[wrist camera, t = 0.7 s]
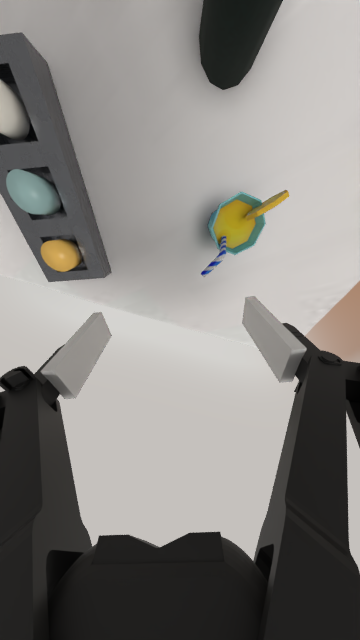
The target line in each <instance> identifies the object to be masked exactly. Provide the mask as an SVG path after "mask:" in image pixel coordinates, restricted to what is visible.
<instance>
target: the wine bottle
mask: <svg viewBox="0 0 360 640" xmlns="http://www.w3.org/2000/svg"><path fill="white" fill-rule="evenodd" d="M282 1H283V0H204V1H203V9H202V17H201V25H200V33H199V42H200V54H201V64H202V66H203V68H204V70H205V73H206V75H207V77H208V79H209V81H210V83H212V84H214V85H216V86H217V87H219V88H221V89H223V90H224V89H227V88H230V87H233V86H236V85H238V84H239V83H240V81H241V80H242V79H243V78H244V76H245V75H246V74H247V73H248V71H249V70H250V69H251V67H252V65H253V63H254V61H255V58H256V56H257V54H258V52H259V50H260V48H261V46H262V44H263V41H264V39H265V37H266V35H267V33H268V31H269V29H270V27H271V24H272V22H273V20H274V18H275V16H276V14H277V12H278V10H279V7H280V5H281V3H282Z"/></svg>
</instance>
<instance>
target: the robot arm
mask: <svg viewBox="0 0 360 640" xmlns="http://www.w3.org/2000/svg"><path fill="white" fill-rule="evenodd" d="M242 323H243V325H244V327H245V328H246V330H247V331H248V333H249V335H250V336H251V338H252V339H253V341H254V343H255V344H256V346H257V347H258V349H259V351H260V352H261V353H262V355H263V357H264V358H265V360H266V361H267V363H268V365H269V366H270V368H271V370H272V371H273V373H274V374H275V376H276V378H277V379H278V381H279V382H291V381H293V379H294V377H295V375H296V377H297V378H298V379H299V383H298V385H297V387H296V389H295V391H294V392H296V394H295V398H294V403H293V406H292V411H291V415H290V419H289V423H288V427H287V432H286V436H285V440H284V445H283V449H282V453H281V457H280V461H279V465H278V470H277V474H276V479H275V482H274V486H273V491H272V495H271V499H270V503H269V508H268V511H267V515H266V518H265V520H264V523H263V526H262V529H261V532H260V536H259V540H258V545H257V548H256V552H255V557H254V561H252V559H251V558H250V557H249V556H248V555H247V554H246V553H245V552H244V551H243V550H242V549H241V548H239V547H238V546H237V545H236V544H234V543H232V542H231V541H230V540H228V539H226V538H223V537H221V534H220V532H205V533H204V532H202V533H188V534H186V535H185V536H182V537H180V538H178V539H176V540H174V541H172V542H170V543H168V544H166V545H164V546H162V547H158V546H156V545H153V544H151V543H149V542H147V541H144V540H141V539H139V538H136V537H133V536H130V535H109V536H108V535H107V536H99V538H98V542H97V544H96V545H94V546H93V547H92V544H91V540H90V537H89V534H88V531H87V529H86V528H85V526H84V525H83V523H82V520H81V517H80V512H79V506H78V501H77V496H76V490H75V484H74V480H73V474H72V468H71V463H70V457H69V452H68V447H67V441H66V436H65V430H64V425H63V420H62V414H61V409H60V403H59V401H58V400H57V397H58V396H59V394H61V395H62V396H63V397H64V399H71V398H76V397H77V395H78V394H79V392H80V390H81V388H82V386H83V385H84V383H85V381H86V380H87V377H88V376H89V374H90V373H91V371H92V369H93V367H94V366H95V364H96V362H97V360H98V359H99V357H100V355H101V353H102V352H103V350H104V348H105V346H106V345H107V343H108V341H109V339H110V338H111V336H112V335H111V333H110V331H109V328H108V326H107V324H106V322H105V319H104V317H103V315H102V313H101V312H99V313H93V314H92V315H91V316H90V317H89V319H88V320H87V321H86V322H85V323H84V324H83V325H82V326H81V328H79V330H78V331H77V332H76V333H75V334H74V335H73V336H72V337H71V338H70V339H69V340H68V342H67V343H66V344H64V345H63V346H62V347H60V348H59V349H57V350H56V351H55V353H54V354H53V356H51V357H50V358H49V360H47V361H46V362H45V363H44V364H43V365H42V366H41V368H40V369H39V370H38V371H37V372H36V373H35V374H33V373H32V372H31V371H30V370H29V369H28V368H27V367H25V366H21V367H17V368H15V369H12V370H11V371H9V372H7V373H6V374H4V375H3V376H2V377H1V378H0V386H1V387H2V388H3V389H4V390H5V391H4V392H0V640H360V573H359V570H358V567H357V564H356V563H355V561H354V559H353V557H352V556H351V553H350V549H349V539H348V538H349V537H348V493H347V492H348V488H347V437H346V412H347V414H348V417H349V419H350V423H351V425H352V428H353V431H354V433H355V436H356V439H357V442H358V444H359V447H360V363H355V362H348V361H343V360H342V359H341V358H340V357H338V356H336V355H335V354H332V353H329V352H326V351H320V350H319V349H318V348H317V347H316V346H315V345H314V344H313V343H312V342H310V341H309V340H308V339H307V338H306V337H304V335H303V334H302V333H300V332H299V331H298V330H297V329H296V328H295V327H294V326H292V325H290V324H288V323H281V322H280V321H279V320H278V319H277V318H276V317H275V316H274V315H273V314H272V313H271V312H270V311H269V310H268V309H267V308H266V307H265V306H264V305H263V304H262V303H261V302H260V301H259V300H258V299H257V298H256V297H255V296H253V297H246V298H245V306H244V313H243V321H242Z"/></svg>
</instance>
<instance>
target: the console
mask: <svg viewBox="0 0 360 640" xmlns="http://www.w3.org/2000/svg"><path fill="white" fill-rule="evenodd" d="M0 79H1V80H2V81H3V82H5V83H6V84H7V85H8V86H10V87H11V88H12V89H13V90H14V91H15V92H16V93H17V95H18V96H19V97H20V99H21V100H22V102H23V104H24V106H25V108H26V110H27V113H28V117H29V122H30V129H29V133H28V135H27V137H26V138H25V139H23V140H14V139H12V138H9V137H7V136H5V135H3V134H1V133H0V193H1V195H2V197H3V198H4V200H5V202H6V204H7V206H8V208H9V210H10V211H11V213H12V215H13V217H14V219H15V221H16V222H17V224H18V226H19V228H20V230H21V232H22V234H23V235H24V237H25V239H26V241H27V243H28V245H29V247H30V248H31V250H32V252H33V254H34V256H35V258H36V259H37V261H38V263H39V265H40V267H41V269H42V271H43V272H44V274H45V276H46V278H47V280H48V282H55V281H68V280H81V279H94V278H105V277H106V276H107V275H109V274H110V273H111V269H110V266H109V263H108V260H107V256H106V253H105V250H104V247H103V243H102V240H101V237H100V234H99V230H98V227H97V224H96V221H95V217H94V214H93V211H92V208H91V204H90V201H89V198H88V195H87V191H86V188H85V185H84V182H83V178H82V175H81V172H80V169H79V165H78V162H77V159H76V156H75V152H74V149H73V146H72V143H71V139H70V136H69V133H68V130H67V126H66V123H65V120H64V117H63V113H62V110H61V107H60V104H59V100H58V97H57V94H56V91H55V87H54V84H53V81H52V78H51V74H50V71H49V68H48V65H47V62H46V61H45V60H44V59H43V57H42V56H41V55H40V54H39V53H38V51H37V50H36V49H35V48H34V47H33V45H32V44H31V43H30V42H29V41H28V39H27V38H26V37H25V36H24V35H23V33H14V34H6V35H0ZM14 169H20V170H24V171H27V172H30V173H33V174H36V175H39V176H42V177H44V178H46V179H47V180H49V181H50V182H51V183H52V184H53V185H54V187H55V188H56V190H57V191H58V194H59V196H60V201H61V206H60V209H59V211H58V212H57V213H56V214H53V215H43V214H31V213H28V212H26V211H24V210H23V209H21V208H20V207H19V206H18V205H17V204H16V203H15V202H14V200H13V199H12V198H11V196H10V194H9V192H8V189H7V185H6V178H7V175H8V173H9V172H10V171H11V170H14ZM58 239H67V240H70V241H72V242H73V243H75V244H76V245H77V246H78V248H79V249H80V251H81V253H82V262H81V264H80V265H79V266H77V267H74V268H72V269H70V270H68V271H65V272H60V271H57V270H54V269H52V268H51V267H50V266H48V265H47V264H46V262H45V261H44V259H43V258H42V255H41V246H42V245H43V243H45V242H47V241H52V240H58Z"/></svg>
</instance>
